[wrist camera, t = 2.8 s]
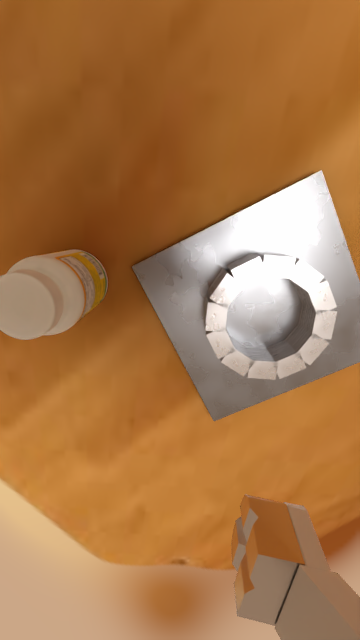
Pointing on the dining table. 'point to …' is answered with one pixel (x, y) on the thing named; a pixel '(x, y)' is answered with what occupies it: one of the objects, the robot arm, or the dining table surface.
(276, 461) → the dining table surface
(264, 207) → the ring collar plate
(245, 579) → the robot arm
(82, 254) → the supplement bottle
